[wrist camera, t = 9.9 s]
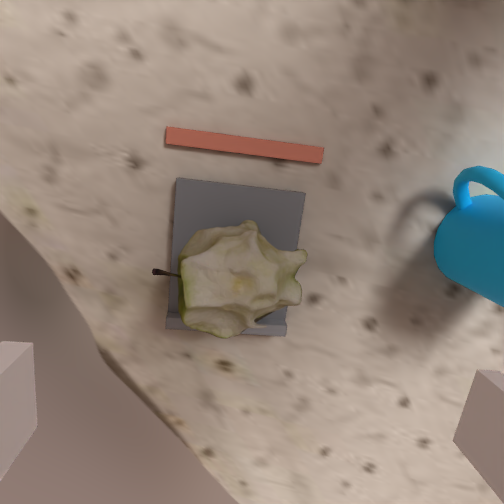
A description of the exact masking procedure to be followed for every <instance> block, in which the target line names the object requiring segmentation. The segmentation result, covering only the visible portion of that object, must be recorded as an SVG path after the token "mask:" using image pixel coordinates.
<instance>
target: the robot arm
mask: <svg viewBox="0 0 504 504" xmlns="http://www.w3.org/2000/svg"><path fill="white" fill-rule="evenodd" d="M37 427H38V425H37V407H36V390H35V371H34V353H33V343H26V342H11V341H2V342H1V343H0V481H1V479H2V478H3V477H4V475H5V474H6V472H7V471H8V469H9V468H10V466H11V465H12V464H13V462H14V461H15V459H16V458H17V456H18V455H19V453H20V452H21V450H22V449H23V447H24V446H25V444H26V443H27V441H28V440H29V439H30V437H31V436H32V434H33V433H34V431H35V430H36V428H37ZM453 442H454V443H455V444H456V445H457V447H458V448H459V449H460V450H461V451H462V453H463V454H464V455H465V456H466V458H467V459H468V460H469V461H470V463H471V464H472V465H473V466H474V468H475V469H476V470H477V471H478V472H479V474H480V475H481V476H482V477H483V479H484V480H485V481H486V482H487V484H488V485H489V486H490V487H491V488H492V490H493V491H494V492H495V493H496V495H497V496H498V497H499V498H500V500H501V501H502V502H503V503H504V374H503V373H501V372H500V371H494V370H477V371H476V374H475V377H474V380H473V383H472V386H471V389H470V392H469V394H468V397H467V400H466V403H465V406H464V409H463V412H462V415H461V418H460V421H459V424H458V427H457V429H456V432H455V435H454V438H453Z"/></svg>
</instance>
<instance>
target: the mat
mask: <svg viewBox="0 0 504 504" xmlns="http://www.w3.org/2000/svg"><path fill="white" fill-rule="evenodd" d="M305 195H306V193H303V192H295V191H286V190H278V189H269V188H261V187H252V186H244V185H235V184H227V183H218V182H210V181H202V180H193V179H185V178H176V193H175V209H174V225H173V241H172V257H171V273H174V274H177V275H178V272H177V268H178V256H179V255H180V253H181V251H182V249H183V248H184V247H185V245H186V244H187V243H188V241H189V240H190V238H191V237H192V236H193V235H194V234H195V232H197V231H198V230H202V229H209V228H214V227H227V226H239V225H240V224H241V223H242V222H243V221H245V220H252V221H254V222H256V223H257V225H258V227H259V229H260V232H261V235H262V236H263V237H265V239H266V240H267V241H268V242H269V243H270V244H271V245H272V246H274V247H275V248H276V249H278V250H282V251H295V250H297V244H298V238H299V232H300V225H301V219H302V213H303V207H304V201H305ZM177 278H178V277H174V276H170V289H169V305H168V314H167V317H166V328H165V329H178V330H193V331H199V330H197V329H191V328H190V327H189V326H186V325H185V324H184V323H183V322H182V320H181V316H180V314H179V311H178V279H177ZM286 312H287V306H285V307H284V308H282V309H280V310H276V311H274V312H272V313H271V314H269V315H267V316H265V317H264V318H262V319H261V320H259V321H258V322H256V323H257V324H260V325H266V326H267V327H266V328H248V329H246V330H245V331H244V332H242V333H240V334H254V335H269V336H284V337H286V331H287V324H286V321H285V318H286Z"/></svg>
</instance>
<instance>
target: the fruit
mask: <svg viewBox="0 0 504 504" xmlns="http://www.w3.org/2000/svg"><path fill="white" fill-rule="evenodd" d="M306 259H307V252H306V250H299V249H297V250H295V251H282V250H278V249H276V248H275V247H274V246H272V245H271V244H270V243H269V242H268V241H267V240H266V239H265V237H263V236H262V235H261V232H260V229H259V227H258V225H257V223H256V222H254V221H252V220H245V221H243V222H242V223H241V224H240V225H239V226H227V227H214V228H209V229H202V230H198V231H197V232H195V234H194V235H193V236H192V237H191V238H190V240H189V241H188V243H187V244H186V245H185V247H184V248H183V249H182V251H181V253H180V255H179V256H178V268H177V272H178V275H177V274H174V273H169V272H166V271H163V270H160V269H153V270H152V273H153V275H168V276H174V277H178V278H177V279H178V311H179V314H180V316H181V320H182V322H183V323H184V324H185V325H186V326H189V327H190V328H191V329H197V330H199V331H203V332H207V333H210V334H213V335H214V336H217V337H220V338H229V337H231V336H237V335H239V334H240V333H242V332H244V331H245V330H246V329H248V328H266V327H267V326H266V325H260V324H257V323H256V322H258V321H259V320H261V319H262V318H264V317H265V316H267V315H269V314H271V313H272V312H274V311H276V310H280V309H282V308H284V307H285V306H295V305H299V304H300V302H301V297H302V289H301V286H300V284H299V282H298V281H296V280H295V274H296V272H297V271H298V269H299V267H300V266H301V265H302V264H304V263H305V262H306Z"/></svg>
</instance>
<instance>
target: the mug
mask: <svg viewBox="0 0 504 504" xmlns="http://www.w3.org/2000/svg"><path fill="white" fill-rule="evenodd" d="M469 181H474V182H477V183H480V184H483V185H484V186H486V187H488V188H489V189H491V190H493V191H494V192H495V193H496V194H497V195H499V196H495V195H488V194H485V195H479V196H474V197H471V198H470V194H469V188H468V186H469ZM453 195H454V199H455V204H456V206H455V207H454V208H453V209H452V210H451V211H450V212H449V213H448V214H447V215H446V216H445V218H444V219H443V221H442V223H441V224H440V226H439V227H438V230H437V233H436V237H435V240H434V257H435V260H436V262H437V265H438V268H439V269H440V270H441V271H442V272H443V274H444V275H445V276H446V277H447V278H449V279H451V280H453V281H455V282H457V283H459V284H461V285H463V286H465V287H466V288H468V289H470V290H472V291H474V292H476V293H478V294H480V295H482V296H483V297H485V298H487V299H489V300H491V301H493V302H495V303H497V304H499V305H500V306H502V307H504V175H503V174H501V173H500V172H498V171H496V170H494V169H491V168H487V167H482V166H475V167H471V168H467V169H464V170H463V171H462V172H461V173H460V174H459V175H458V176H457V178H456V179H455V181H454V187H453Z"/></svg>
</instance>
